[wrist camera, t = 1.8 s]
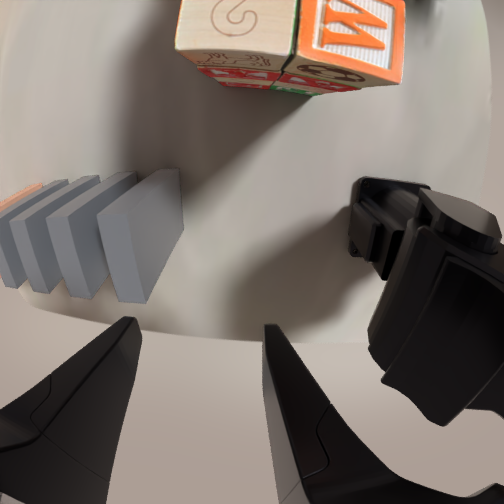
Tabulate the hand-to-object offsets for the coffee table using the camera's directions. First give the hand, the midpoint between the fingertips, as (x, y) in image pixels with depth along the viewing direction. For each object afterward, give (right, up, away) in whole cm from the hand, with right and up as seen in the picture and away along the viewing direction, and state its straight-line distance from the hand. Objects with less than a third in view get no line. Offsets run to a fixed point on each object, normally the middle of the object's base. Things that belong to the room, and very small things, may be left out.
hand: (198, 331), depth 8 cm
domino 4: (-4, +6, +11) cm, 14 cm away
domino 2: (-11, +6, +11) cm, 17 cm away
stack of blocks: (+4, +23, +3) cm, 23 cm away
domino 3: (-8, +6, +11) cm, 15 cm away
